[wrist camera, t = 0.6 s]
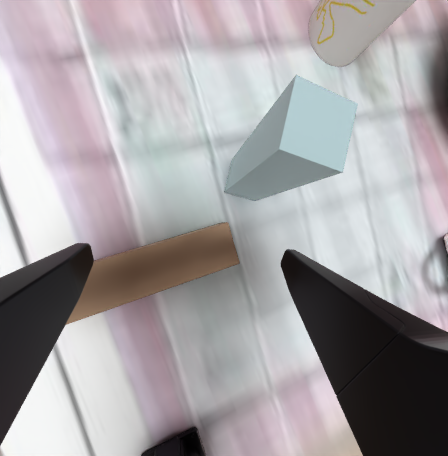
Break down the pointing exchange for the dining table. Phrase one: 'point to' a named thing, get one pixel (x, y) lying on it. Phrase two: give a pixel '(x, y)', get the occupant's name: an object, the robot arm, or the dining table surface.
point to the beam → (155, 269)
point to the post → (294, 142)
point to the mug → (446, 241)
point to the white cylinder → (350, 26)
